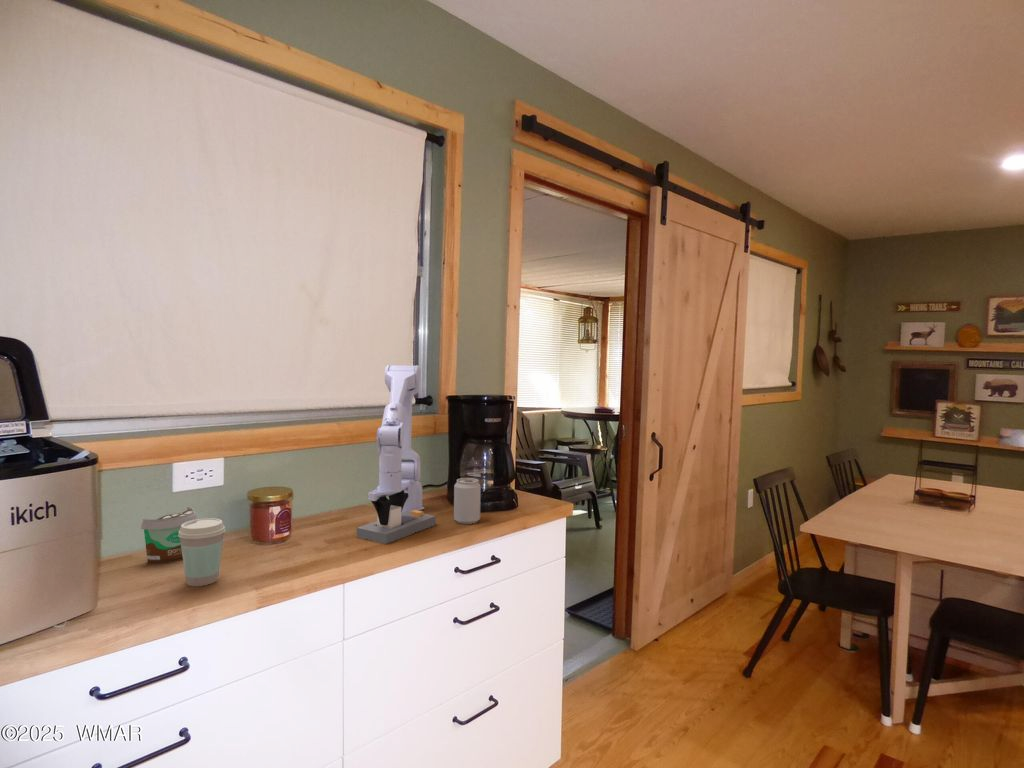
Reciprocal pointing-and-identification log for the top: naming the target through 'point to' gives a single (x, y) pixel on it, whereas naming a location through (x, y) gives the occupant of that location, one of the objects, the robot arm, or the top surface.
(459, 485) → the can
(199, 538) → the coffee cup
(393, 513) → the plug
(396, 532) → the grey slotted holder
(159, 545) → the food container
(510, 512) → the top surface
